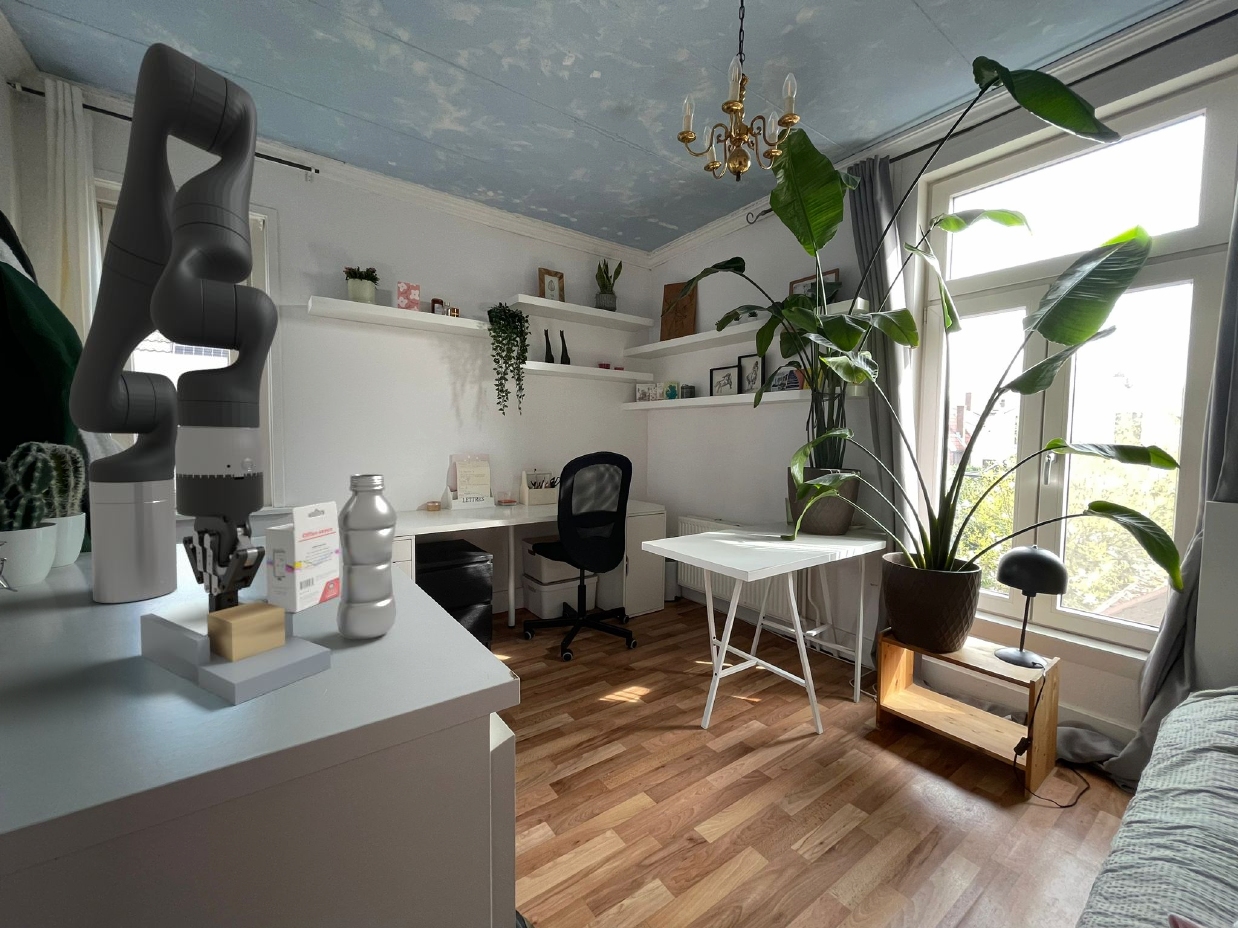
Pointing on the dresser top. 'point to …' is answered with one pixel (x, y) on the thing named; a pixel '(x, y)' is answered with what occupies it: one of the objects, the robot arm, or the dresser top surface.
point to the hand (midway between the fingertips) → (224, 624)
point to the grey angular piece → (222, 676)
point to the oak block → (246, 630)
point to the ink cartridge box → (303, 559)
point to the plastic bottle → (366, 560)
